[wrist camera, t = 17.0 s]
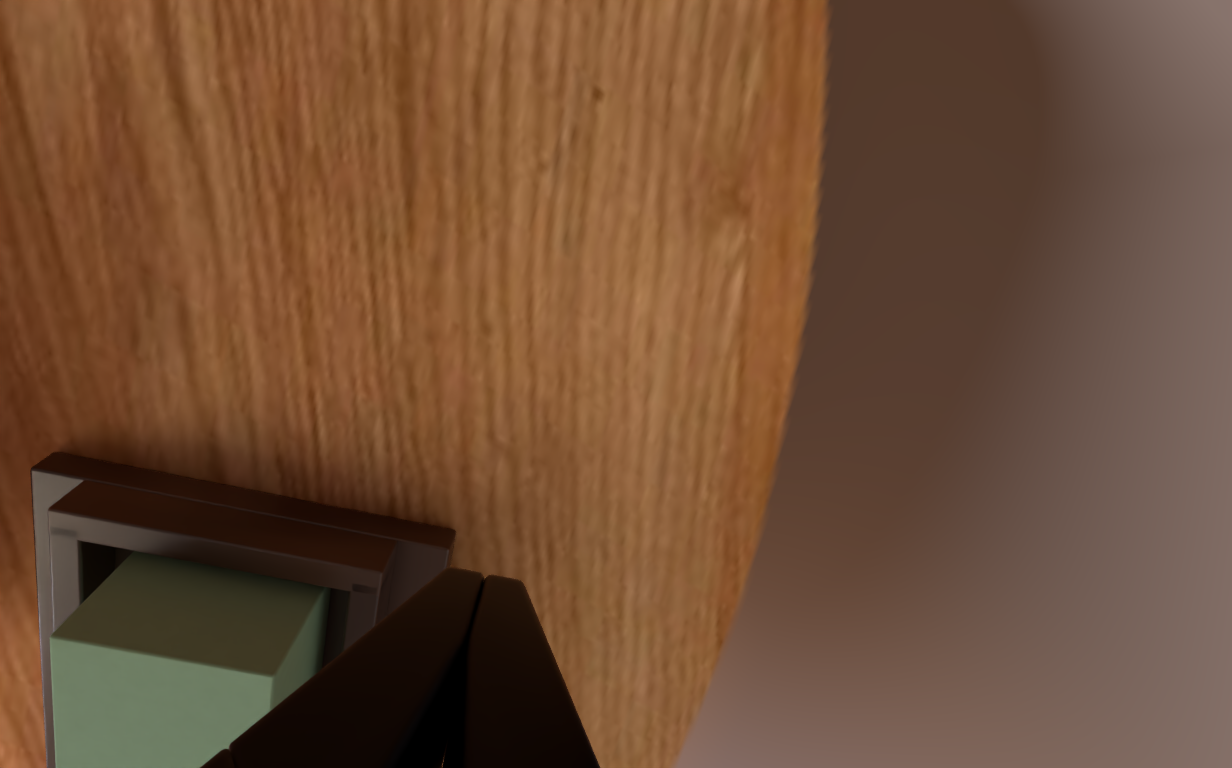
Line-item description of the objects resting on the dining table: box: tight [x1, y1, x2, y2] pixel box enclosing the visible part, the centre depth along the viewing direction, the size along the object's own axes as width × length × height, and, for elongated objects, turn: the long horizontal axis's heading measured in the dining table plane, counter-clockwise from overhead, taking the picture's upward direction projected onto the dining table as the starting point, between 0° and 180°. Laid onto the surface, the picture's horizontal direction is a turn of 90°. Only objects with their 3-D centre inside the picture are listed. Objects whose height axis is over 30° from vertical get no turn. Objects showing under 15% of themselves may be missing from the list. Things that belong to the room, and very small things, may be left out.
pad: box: [50, 551, 331, 768], centre depth 21 cm, size 5×7×4 cm
